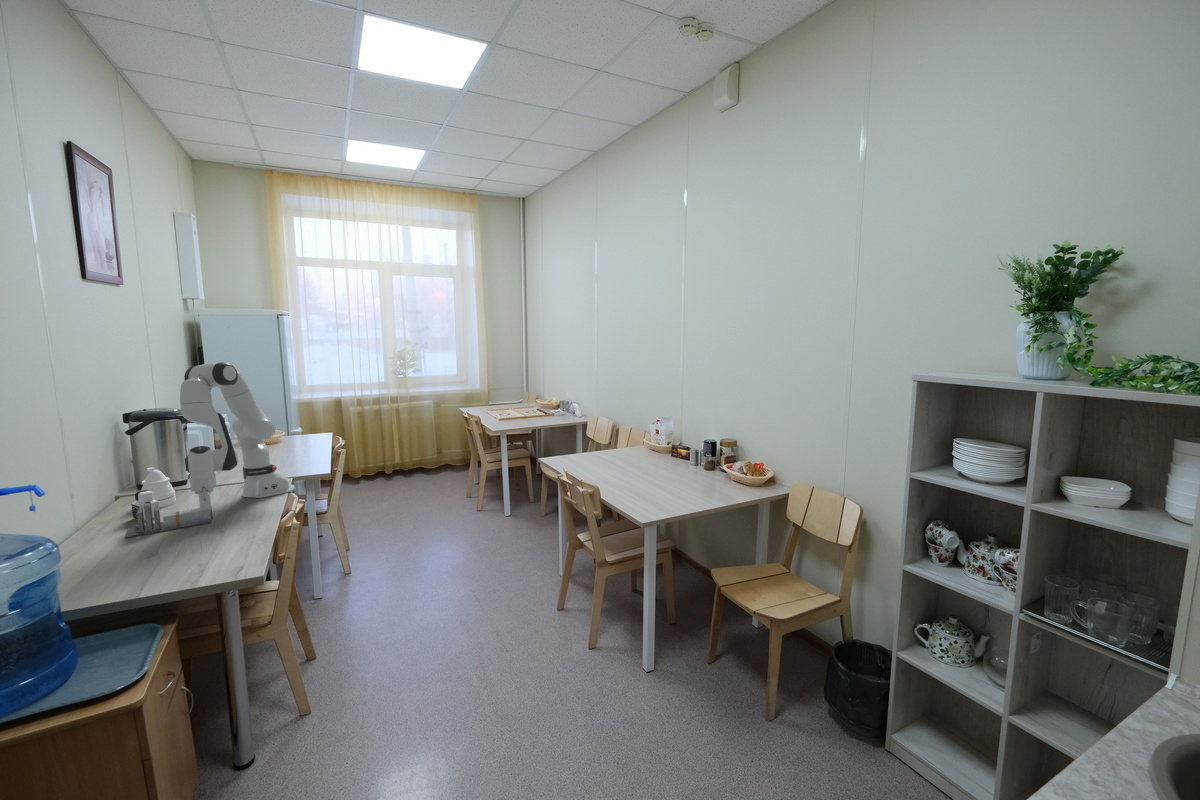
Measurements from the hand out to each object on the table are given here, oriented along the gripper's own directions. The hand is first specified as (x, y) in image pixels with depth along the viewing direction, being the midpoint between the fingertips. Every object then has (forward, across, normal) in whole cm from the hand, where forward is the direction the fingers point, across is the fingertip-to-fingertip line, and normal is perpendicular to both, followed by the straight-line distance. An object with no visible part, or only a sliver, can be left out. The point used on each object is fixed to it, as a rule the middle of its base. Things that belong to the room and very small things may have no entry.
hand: (206, 515), depth 221 cm
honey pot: (+2, +38, +18) cm, 42 cm away
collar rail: (+2, 0, +12) cm, 12 cm away
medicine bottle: (+2, +18, +20) cm, 28 cm away
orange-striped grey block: (+1, 0, +6) cm, 6 cm away
